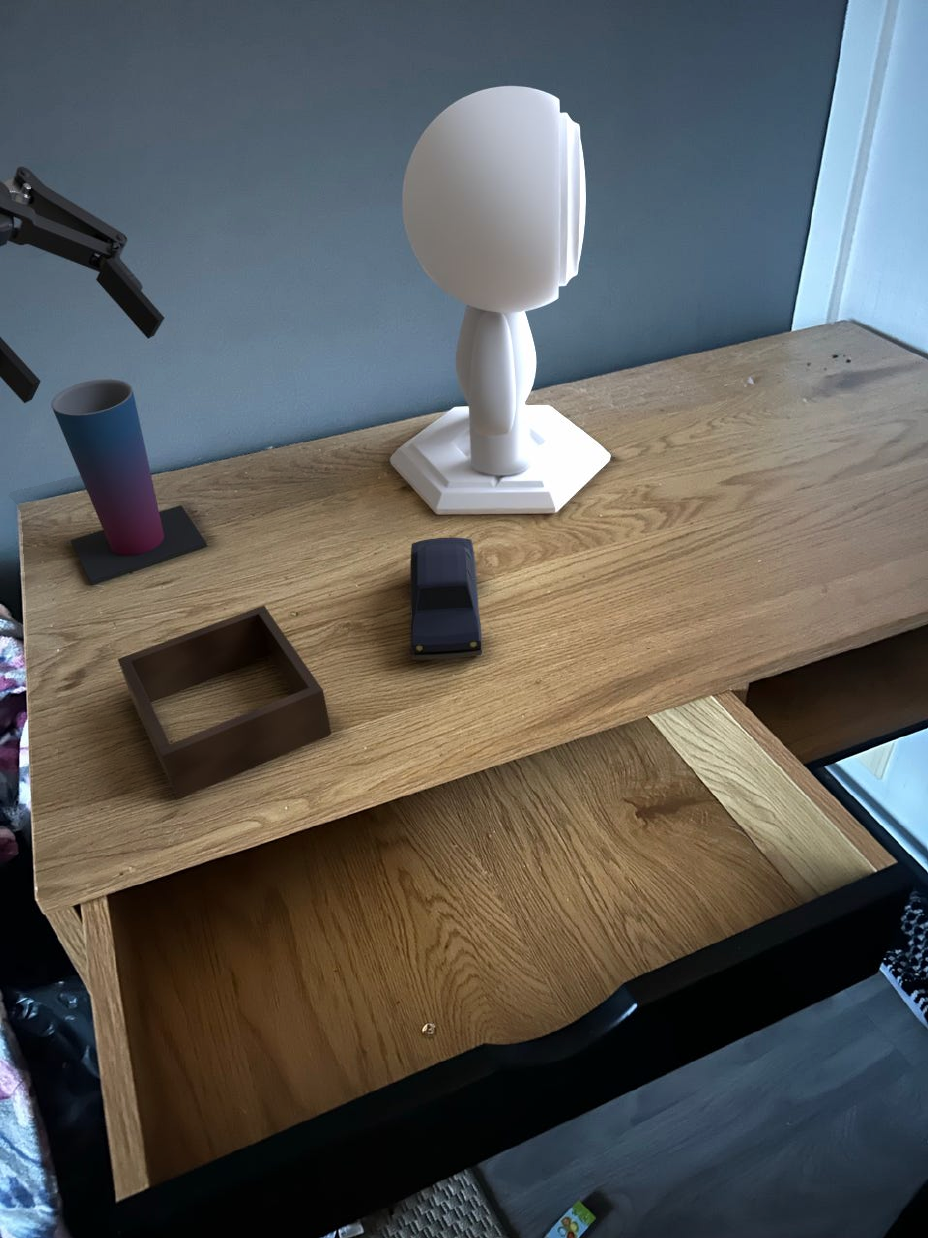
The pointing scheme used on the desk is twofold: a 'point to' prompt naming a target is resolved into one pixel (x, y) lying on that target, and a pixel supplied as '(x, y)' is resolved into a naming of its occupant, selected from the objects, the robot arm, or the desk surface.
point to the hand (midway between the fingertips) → (98, 359)
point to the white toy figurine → (498, 298)
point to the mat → (109, 564)
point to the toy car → (444, 600)
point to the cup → (112, 461)
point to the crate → (242, 736)
